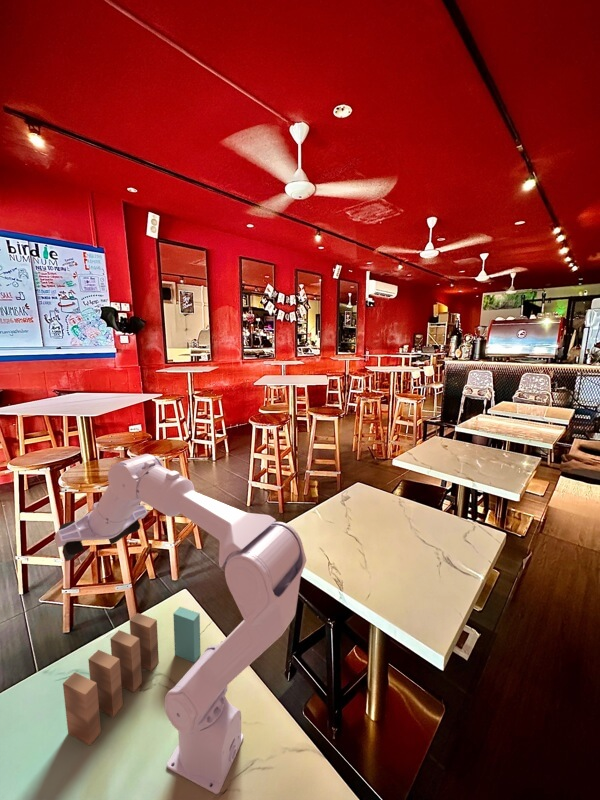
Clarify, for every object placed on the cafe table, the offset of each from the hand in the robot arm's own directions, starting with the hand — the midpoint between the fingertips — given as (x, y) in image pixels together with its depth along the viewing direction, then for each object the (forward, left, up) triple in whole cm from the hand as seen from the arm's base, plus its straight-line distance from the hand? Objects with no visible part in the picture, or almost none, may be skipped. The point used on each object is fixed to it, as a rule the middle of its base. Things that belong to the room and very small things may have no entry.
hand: (89, 547), depth 62 cm
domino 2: (-7, +4, -27) cm, 29 cm away
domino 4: (-7, -5, -27) cm, 29 cm away
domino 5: (-14, -9, -27) cm, 32 cm away
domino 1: (-7, +9, -27) cm, 30 cm away
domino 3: (-7, 0, -27) cm, 28 cm away
